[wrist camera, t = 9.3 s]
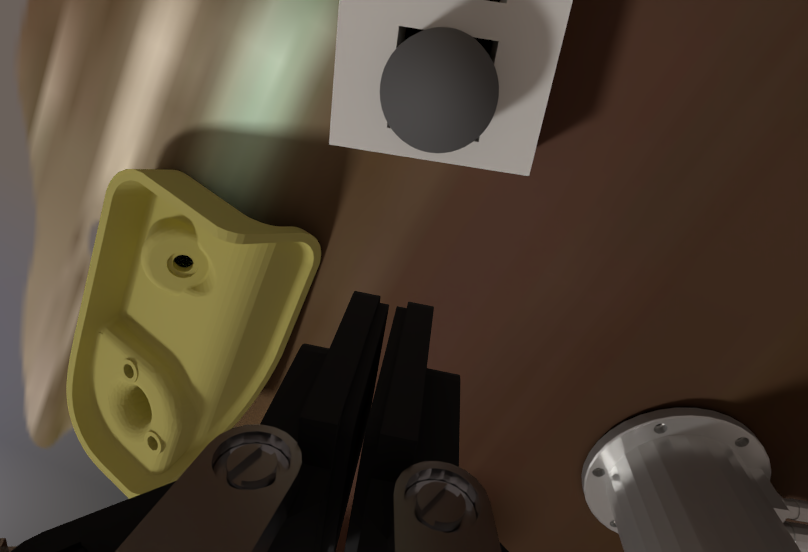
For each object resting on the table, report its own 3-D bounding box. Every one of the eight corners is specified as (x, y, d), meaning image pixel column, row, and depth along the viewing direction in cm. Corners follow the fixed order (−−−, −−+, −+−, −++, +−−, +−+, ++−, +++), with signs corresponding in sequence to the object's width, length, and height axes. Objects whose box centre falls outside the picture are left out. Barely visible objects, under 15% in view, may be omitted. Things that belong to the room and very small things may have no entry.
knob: (499, 33, 27) (511, 38, 21) (479, 132, 29) (485, 161, 23) (401, 18, 27) (387, 19, 21) (389, 118, 29) (373, 143, 23)
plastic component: (114, 152, 29) (245, 246, 26) (218, 156, 36) (332, 231, 33) (54, 422, 37) (150, 521, 34) (150, 384, 43) (237, 463, 40)
